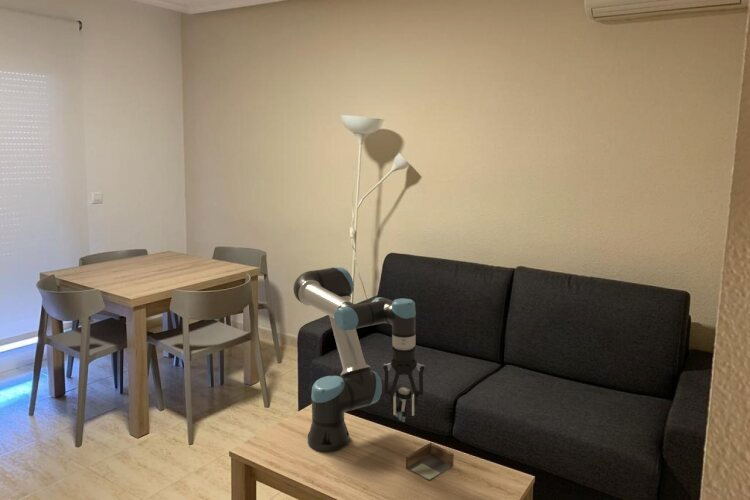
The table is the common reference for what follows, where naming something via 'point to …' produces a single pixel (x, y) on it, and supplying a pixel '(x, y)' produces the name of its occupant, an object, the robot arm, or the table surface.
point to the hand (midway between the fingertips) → (403, 413)
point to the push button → (402, 402)
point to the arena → (429, 461)
